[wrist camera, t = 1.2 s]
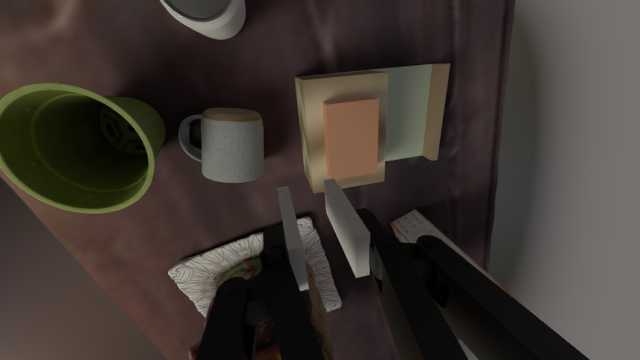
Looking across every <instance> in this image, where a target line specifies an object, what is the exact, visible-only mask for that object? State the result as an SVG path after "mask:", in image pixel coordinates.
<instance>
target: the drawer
mask: <svg viewBox="0 0 640 360" xmlns="http://www.w3.org/2000/svg"><path fill="white" fill-rule="evenodd" d="M449 70H450V64H439V63H436V64H426V65H415V66H405V67H394V68H383V69H373V70H370V71H383V72H388V97H387V122H386V147H385V161H389V160H396V159H402V158H408V157H415V156H421V155H423V156H424V157H426V158H428V159H430V160H431V161H432V160H437V158H438V150H439V143H440V136H441V128H442V121H443V114H444V106H445V99H446V92H447V84H448V77H449Z"/></svg>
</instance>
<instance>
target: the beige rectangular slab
mask: <svg viewBox="0 0 640 360" xmlns="http://www.w3.org/2000/svg"><path fill="white" fill-rule="evenodd" d="M294 78H295V87H296V96H297V105H298V114H299V123H300V132H301V141H302V150H303V160H304V169H305V174H306V176H307V179H308V181H309V184H310V186H311V188H312V191H313V193H319V192H324V191H325V189H324V180H328V179H330V178H329V176H328V174H327V164H326V149H325V135H324V120H323V105H322V102H327V101H336V100H345V99H354V98H363V97H375V98H378V99H379V117H378V156H377V173H371V174H365V175H359V176H353V177H347V178H341V179H335V181H336V182H337V184H338V185H339V187H340V188H341V189H342V188H347V187H353V186H359V185H365V184H371V183H376V182H382V181H384V172H385V147H386V122H387V97H388V72H383V71H370V70H362V71H352V72H341V73H330V74H320V75H309V76H299V77H294Z"/></svg>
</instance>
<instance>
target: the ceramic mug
mask: <svg viewBox="0 0 640 360" xmlns="http://www.w3.org/2000/svg"><path fill="white" fill-rule="evenodd" d="M194 119H201V138H202V155H201V154H199V153H198V152H196V151H195V150H194V148H193V147H192V146H191V143H190V140H189V131H190V128H191V127H190V123H191V122H192V121H193V120H194ZM179 142H180V144H181V147H182V148H183V150H184V151H185V152H186V153H187V154H188V155H189V156H190V157H192V158H193V159H195V160H198V161H200V162H202V172H203V175H204V176H205V177H207V178H208V179H211V180H214V181H218V182H227V183H238V182H248V181H252V180H255V179H257V178H259V177H261V176H262V175H263V173H264V127H263V121H262V117H261V115H260V114H259V113H258V112H256V111H253V110H248V109H240V108H210V109H207V110H205V111H204V112H203V114H201V115H193V116H190V117H187V118H185V119H184V120H183V121H182V123H181V124H180V127H179Z"/></svg>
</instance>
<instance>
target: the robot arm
mask: <svg viewBox="0 0 640 360" xmlns="http://www.w3.org/2000/svg"><path fill="white" fill-rule="evenodd" d="M277 189H278V195H279V202H280V208H281V215H282V221H283V224H280V225H275V226H270V227H266V229H265V230H264V232H263V249H262V250H261V252H260V255H259V258H260V263H261V267H262V269H261V271H260V272H259V273H258V274H256V275H255V276H253V277H251V278H249V279H247V280H246V279H245V278H243V277H232V278H229V279H227V280H225V281H224V282H223V283H222V284H221V285H220V286H219V287H218V289H217V292H216V295H215V298H214V301H213V304H212V308H211V311H210V314H209V317H208V320H207V324H206V327H205V330H204V333H203V336H202V340H201V343H200V346H199V349H198V352H197V356H196V359H195V360H254V359H255V350H256V342H257V333H258V324H259V323H261V322H263V321H264V320H266V319H268V318H270V317H271V316H272V318H273V323H274V328H275V332H276V337H277V342H278V346H279V351H280V356H281V360H325V358H324V355H323V353H322V350H321V347H320V344H319V341H318V339H317V336H316V333H315V330H314V328H313V325H312V322H311V319H310V317H309V314H308V311H307V308H306V305H305V303H304V300H303V297H302V294H301V292H300V291H303V290H307V289H309V286H308V279H307V271H306V264H305V256H304V248H303V244H302V240H301V236H300V232H299V228H298V224H297V219H296V215H295V211H294V207H293V203H292V199H291V195H290V191H289V187H288V186H286V187H280V188H277ZM324 189H325V202H326V213H327V215H328V217H329V220H330V222H331V224H332V226H333V228H334V231H335V233H336V235H337V237H338V239H339V242H340V244H341V246H342V248H343V250H344V253H345V255H346V257H347V259H348V261H349V263H350V266H351V268H352V270H353V272H354V274H355V277H356V278H358V277H362V276H366V275H370V268H371V270H372V272H373V292H375V287H376V290H377V293H378V295H379V298H380V301H381V304H382V307H383V310H384V312H385V315H386V318H387V321H388V324H389V327H390V329H391V332H392V335H393V338H394V341H395V344H396V346H397V349H398V352H399V355H400V358H401V360H468V358H467V356H466V355H465V353H464V351H463V350H462V348H461V346H460V344H459V343H458V341H457V339H456V337H455V336H454V334H453V332H452V330H453V331H454V332H455V333H456V334H457V335H458V336H459V338H460V339H461V340H462V341H463V342H464V343H465V345H466V346H467V347H468V348H469V349H470V350H471V351H472V353H473V354H474V355H475V356H476V357H477V359H478V360H589V359H588V358H587V357H586V356H584V355H583V354H582V353H581V352H580V351H578V350H577V349H576V348H575V347H573V346H572V345H571V344H570V343H568V342H567V341H566V340H565V339H563V338H562V337H561V336H560V335H559V334H557V333H556V332H555V331H554V330H552V329H551V328H550V327H549V326H547V325H546V324H545V323H544V322H542V321H541V320H540V319H539V318H538V317H536V316H535V315H534V314H533V313H531V312H530V311H529V310H528V309H526V308H525V307H524V306H523V305H521V304H520V303H519V302H518V301H517V300H515V299H514V298H513V297H512V296H510V295H509V294H508V293H507V292H505V291H504V290H503V289H502V288H500V287H499V286H498V285H497V284H496V283H494V282H493V281H492V280H491V279H489V278H488V277H487V276H486V275H484V274H483V273H482V272H481V271H479V270H478V269H477V268H476V267H474V266H473V265H472V264H471V263H470V262H468V261H467V260H466V259H465V258H463V257H462V256H461V255H460V254H458V253H457V252H456V251H455V250H453V249H452V248H451V247H450V246H449V245H447V244H446V243H445V242H444V241H442V240H441V239H439V238H438V237H435V236H432V235H422V236H420V237H418V238H417V240H416V243H405V242H400V240H399V239H398V238H396V237H395V236H393V235H389V234H388V233H387V232H386V231H385V229H384V228H383V227H382V225H381V224H380V223H379V222H378V220H377V219H376V218H375V216H374V215H373V214H372V212H371V211H369V210H367V209H366V208H362V209H357V210H354V208H353V207H352V205H351V203H350V202H349V200H348V199H347V197H346V196H345V194H344V193H343V191H342V190H341V188H340V187H339V185H338V184H337V182H336V181H335V179H328V180H324ZM449 326H450V327H451V328H452V330H451V329H450V327H449Z"/></svg>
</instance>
